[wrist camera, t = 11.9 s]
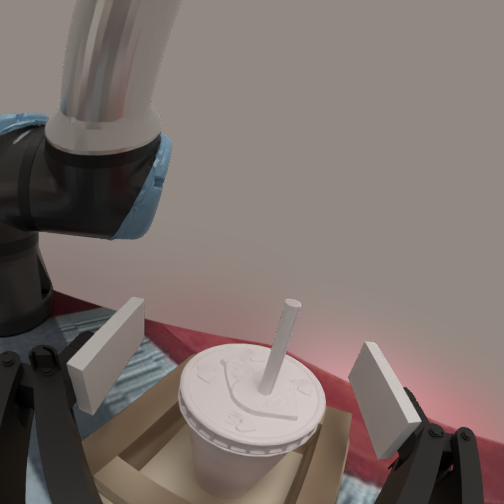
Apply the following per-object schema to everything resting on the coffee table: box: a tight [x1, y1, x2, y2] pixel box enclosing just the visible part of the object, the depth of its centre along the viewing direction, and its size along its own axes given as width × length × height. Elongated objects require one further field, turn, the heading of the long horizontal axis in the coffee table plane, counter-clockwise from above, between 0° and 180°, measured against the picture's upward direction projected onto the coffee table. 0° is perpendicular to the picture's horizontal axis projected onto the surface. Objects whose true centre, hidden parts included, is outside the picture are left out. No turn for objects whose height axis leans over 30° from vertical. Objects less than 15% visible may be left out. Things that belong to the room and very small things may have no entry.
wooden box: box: [81, 353, 352, 504], centre depth 13 cm, size 16×15×6 cm
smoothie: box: [178, 299, 326, 499], centre depth 11 cm, size 6×6×14 cm
